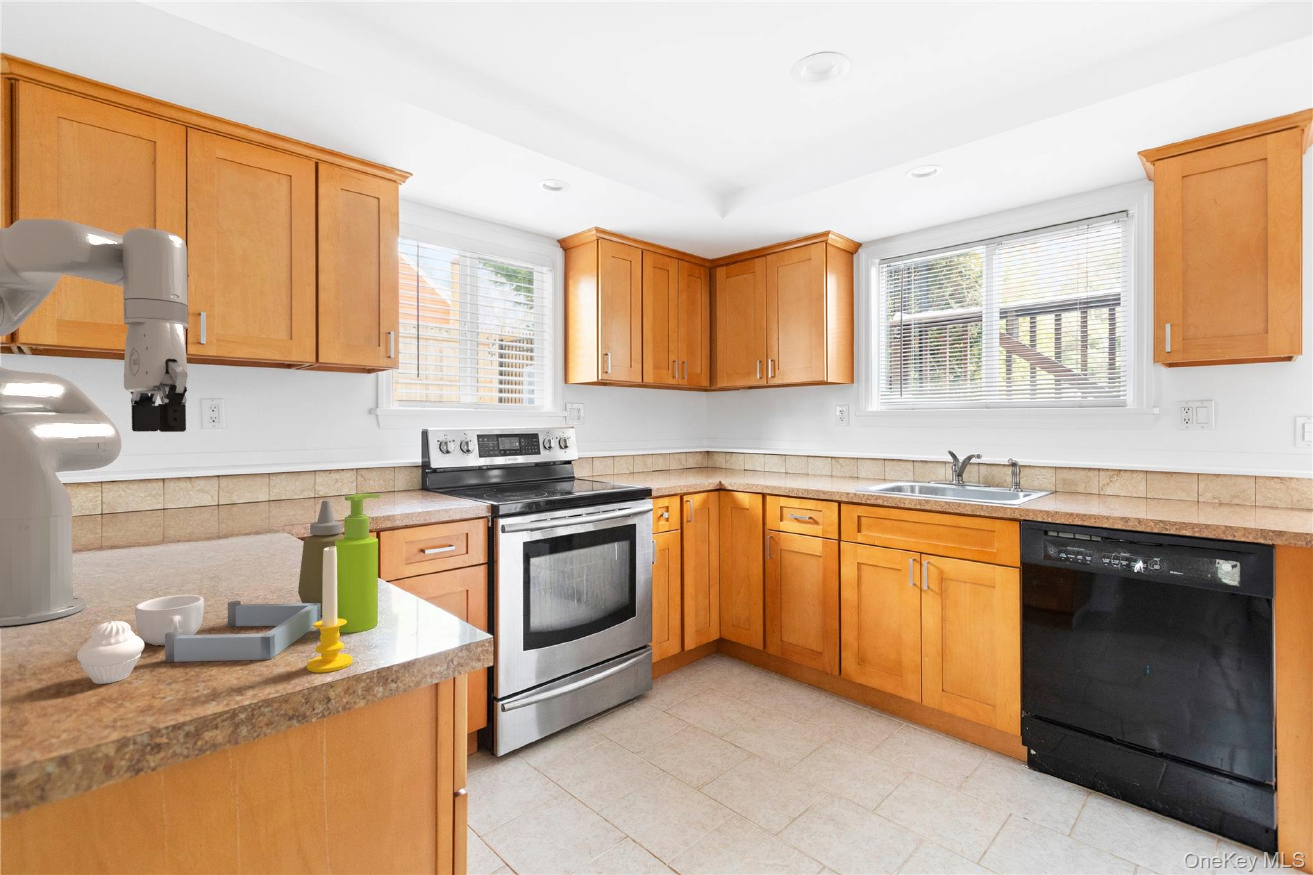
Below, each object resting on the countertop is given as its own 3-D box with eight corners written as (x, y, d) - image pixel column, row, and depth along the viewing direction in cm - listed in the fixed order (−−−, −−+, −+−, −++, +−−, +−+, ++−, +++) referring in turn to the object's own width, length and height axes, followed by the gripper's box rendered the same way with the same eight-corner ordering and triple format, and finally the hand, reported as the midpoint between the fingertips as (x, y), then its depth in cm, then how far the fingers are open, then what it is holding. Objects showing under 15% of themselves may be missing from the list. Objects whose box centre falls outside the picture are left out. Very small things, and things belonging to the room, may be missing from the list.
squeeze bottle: (363, 604, 108) (363, 498, 108) (334, 619, 100) (334, 504, 100) (318, 602, 109) (318, 497, 109) (286, 617, 101) (286, 503, 101)
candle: (323, 675, 78) (323, 549, 78) (297, 667, 81) (297, 544, 80) (361, 662, 83) (361, 542, 82) (336, 654, 85) (336, 538, 85)
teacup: (133, 639, 90) (132, 601, 90) (199, 627, 96) (199, 591, 95) (139, 659, 83) (139, 617, 83) (210, 645, 88) (210, 606, 88)
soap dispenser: (391, 621, 100) (391, 492, 99) (356, 634, 93) (357, 497, 93) (361, 616, 102) (361, 491, 101) (325, 629, 95) (325, 495, 95)
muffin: (125, 687, 74) (125, 627, 74) (63, 691, 73) (63, 630, 73) (155, 667, 80) (155, 611, 80) (98, 670, 79) (98, 614, 79)
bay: (162, 662, 82) (162, 635, 82) (231, 623, 97) (231, 600, 97) (269, 660, 83) (269, 633, 83) (321, 622, 99) (321, 599, 99)
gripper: (103, 318, 97) (105, 431, 97) (149, 306, 87) (151, 432, 87) (162, 324, 103) (164, 431, 103) (211, 314, 93) (213, 431, 94)
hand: (158, 431), depth 95 cm, fingers open, 9 cm apart
